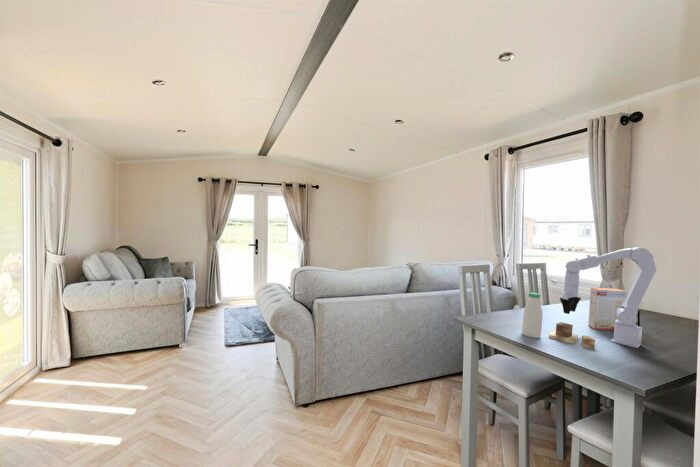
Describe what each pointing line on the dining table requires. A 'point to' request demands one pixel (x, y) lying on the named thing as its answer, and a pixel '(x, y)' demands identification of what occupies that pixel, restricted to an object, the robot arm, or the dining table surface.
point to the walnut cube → (564, 329)
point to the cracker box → (604, 307)
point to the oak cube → (588, 342)
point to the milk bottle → (532, 317)
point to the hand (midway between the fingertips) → (569, 312)
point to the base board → (570, 339)
